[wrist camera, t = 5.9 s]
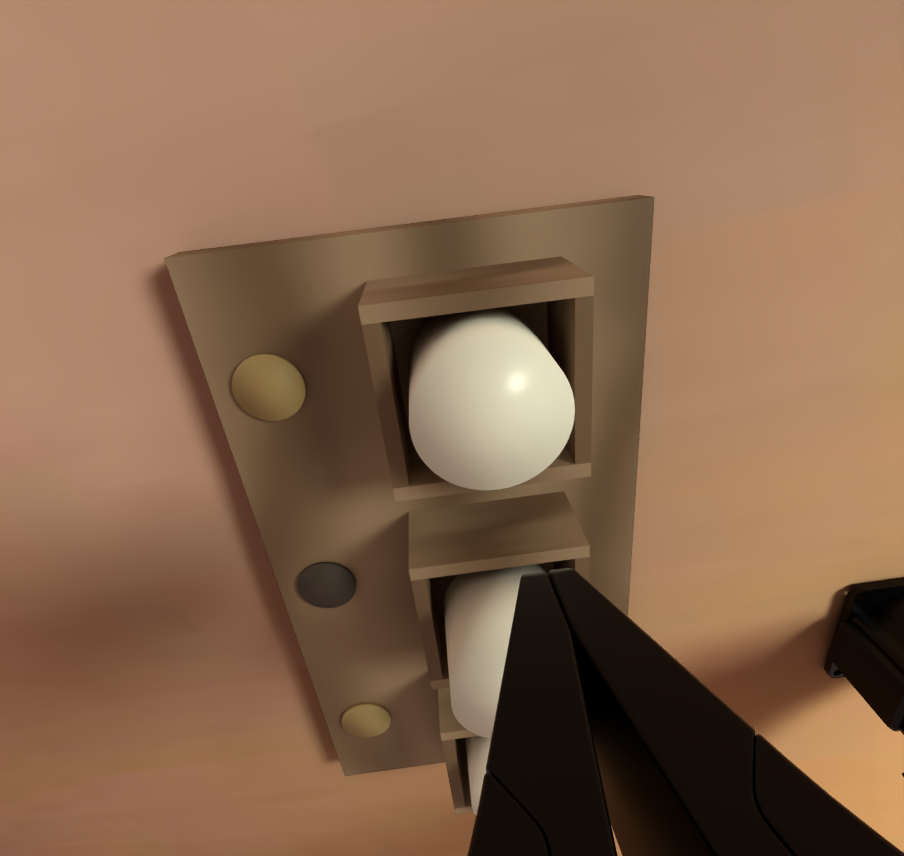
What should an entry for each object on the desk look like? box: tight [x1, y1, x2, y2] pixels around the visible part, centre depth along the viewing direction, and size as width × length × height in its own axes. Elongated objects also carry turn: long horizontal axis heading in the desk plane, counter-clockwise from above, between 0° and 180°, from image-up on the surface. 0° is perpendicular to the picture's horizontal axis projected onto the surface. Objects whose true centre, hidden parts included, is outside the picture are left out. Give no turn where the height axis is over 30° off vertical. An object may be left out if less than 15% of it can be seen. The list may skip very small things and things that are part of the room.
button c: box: [409, 307, 575, 490], centre depth 16 cm, size 4×4×4 cm
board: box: [164, 195, 654, 815], centre depth 21 cm, size 15×27×4 cm, turn 6°
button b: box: [443, 564, 548, 739], centre depth 18 cm, size 4×4×4 cm
